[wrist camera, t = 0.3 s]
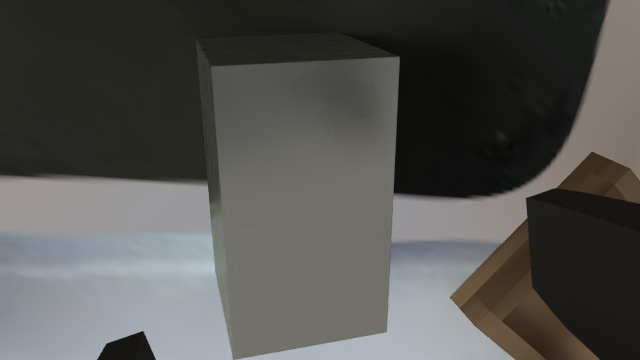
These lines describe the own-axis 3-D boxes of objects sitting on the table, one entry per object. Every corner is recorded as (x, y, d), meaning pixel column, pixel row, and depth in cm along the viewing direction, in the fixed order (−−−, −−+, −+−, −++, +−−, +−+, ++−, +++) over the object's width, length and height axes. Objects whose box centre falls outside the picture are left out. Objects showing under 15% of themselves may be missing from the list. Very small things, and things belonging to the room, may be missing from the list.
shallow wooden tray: (705, 295, 27) (744, 319, 26) (586, 411, 28) (615, 442, 26) (591, 151, 22) (630, 168, 21) (449, 297, 23) (475, 326, 21)
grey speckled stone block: (338, 32, 18) (399, 56, 14) (336, 252, 21) (386, 331, 17) (195, 37, 17) (211, 66, 12) (215, 269, 20) (233, 359, 15)
